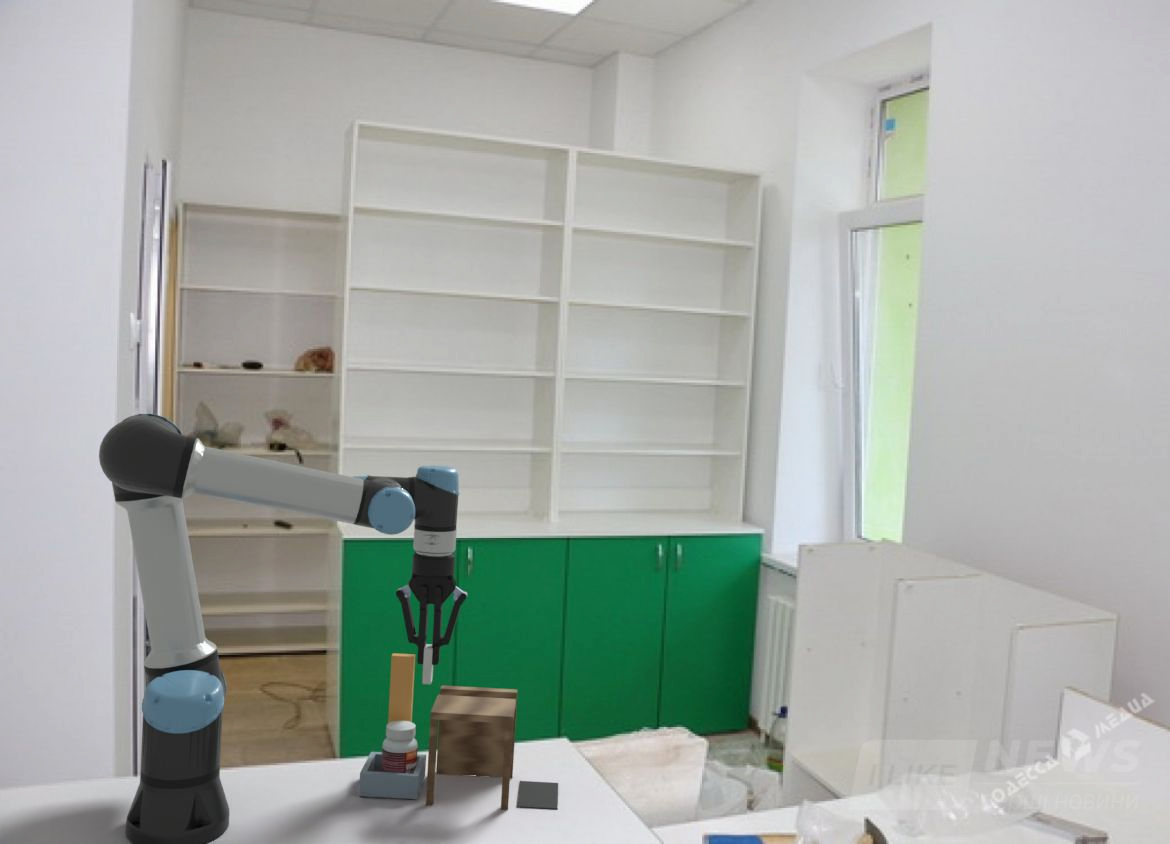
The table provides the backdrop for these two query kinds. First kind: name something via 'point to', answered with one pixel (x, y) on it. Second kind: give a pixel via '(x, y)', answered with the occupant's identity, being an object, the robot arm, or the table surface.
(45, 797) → the table surface
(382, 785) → the tray with upright plank
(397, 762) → the pill bottle
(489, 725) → the wooden stand
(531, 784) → the mat
